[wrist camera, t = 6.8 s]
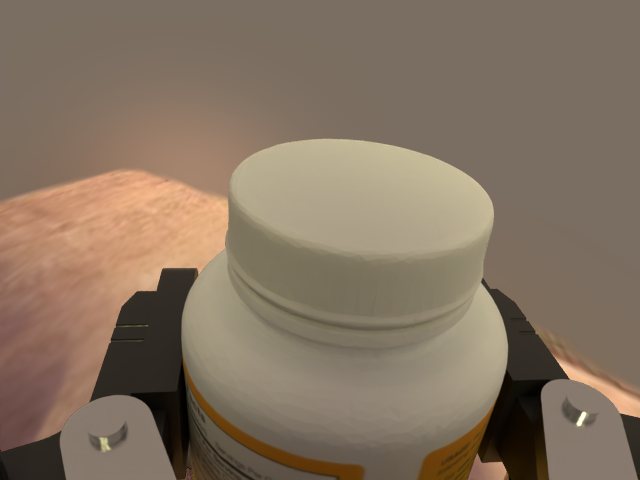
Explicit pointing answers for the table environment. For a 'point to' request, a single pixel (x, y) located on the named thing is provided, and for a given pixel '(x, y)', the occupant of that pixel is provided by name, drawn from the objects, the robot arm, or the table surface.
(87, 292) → the table surface
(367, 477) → the supplement bottle
